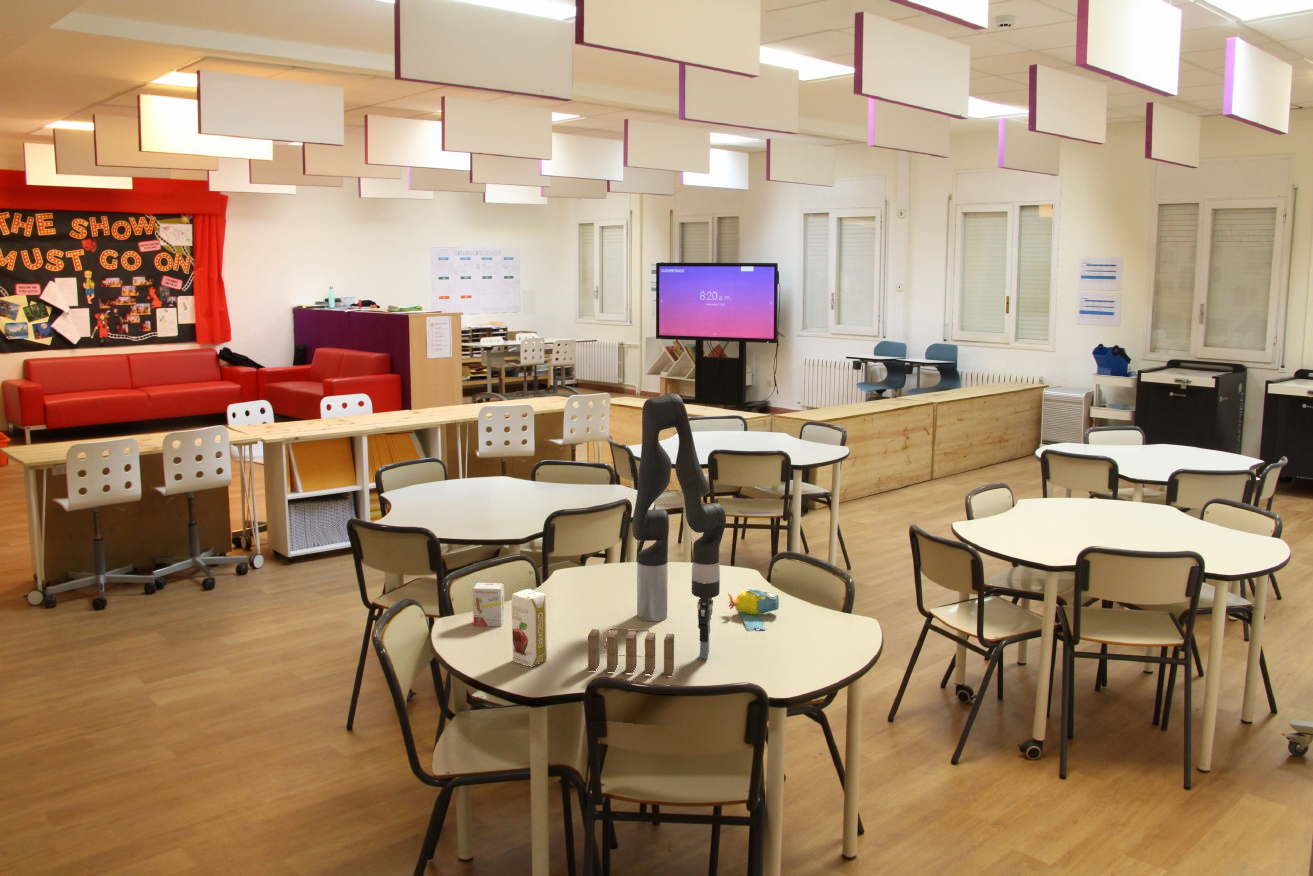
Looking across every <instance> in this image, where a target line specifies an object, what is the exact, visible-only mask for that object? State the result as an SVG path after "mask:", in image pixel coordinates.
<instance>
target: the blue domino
mask: <svg viewBox="0 0 1313 876" xmlns="http://www.w3.org/2000/svg"><path fill="white" fill-rule="evenodd" d="M701 624H706V622H701ZM709 628H710V629H711V620H709ZM709 628H708V641H707V642H701V641H700V640H699V641H700V642H699V646H700V647H699V650H700V651H699V659H708V657H709V654H710V634H709Z"/></svg>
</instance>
